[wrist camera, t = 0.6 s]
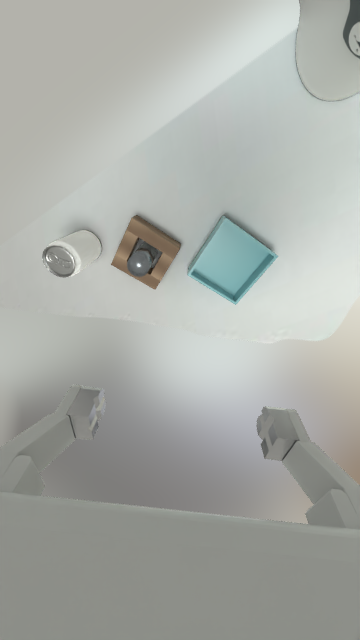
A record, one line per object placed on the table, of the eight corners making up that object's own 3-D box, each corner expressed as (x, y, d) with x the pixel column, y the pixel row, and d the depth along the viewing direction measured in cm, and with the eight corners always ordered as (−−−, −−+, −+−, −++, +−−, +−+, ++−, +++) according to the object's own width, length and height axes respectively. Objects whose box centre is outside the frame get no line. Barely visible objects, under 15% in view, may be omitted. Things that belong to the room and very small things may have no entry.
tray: (223, 215, 43) (225, 217, 39) (272, 250, 46) (278, 256, 42) (187, 268, 49) (187, 275, 46) (233, 296, 52) (235, 304, 49)
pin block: (136, 215, 44) (131, 217, 40) (181, 243, 46) (179, 248, 43) (116, 258, 49) (111, 264, 45) (157, 282, 51) (155, 289, 48)
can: (76, 224, 45) (41, 235, 35) (105, 238, 46) (80, 253, 36) (70, 251, 48) (37, 269, 38) (98, 264, 50) (73, 285, 40)
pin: (144, 238, 46) (132, 251, 38) (160, 248, 47) (152, 263, 39) (136, 254, 48) (123, 269, 40) (151, 263, 49) (142, 280, 40)
